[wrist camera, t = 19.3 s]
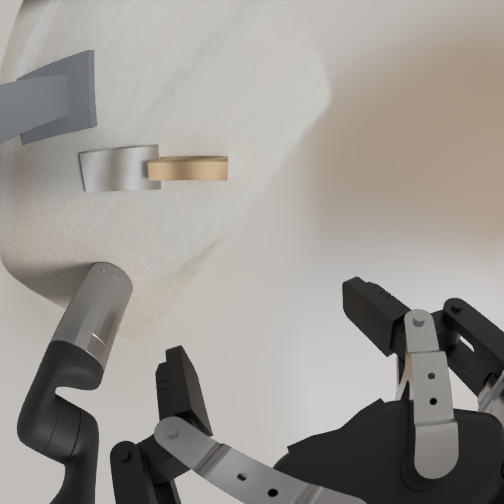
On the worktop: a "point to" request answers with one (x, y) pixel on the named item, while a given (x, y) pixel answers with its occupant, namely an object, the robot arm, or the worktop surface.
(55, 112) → the stand
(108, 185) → the trowel
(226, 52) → the worktop surface
